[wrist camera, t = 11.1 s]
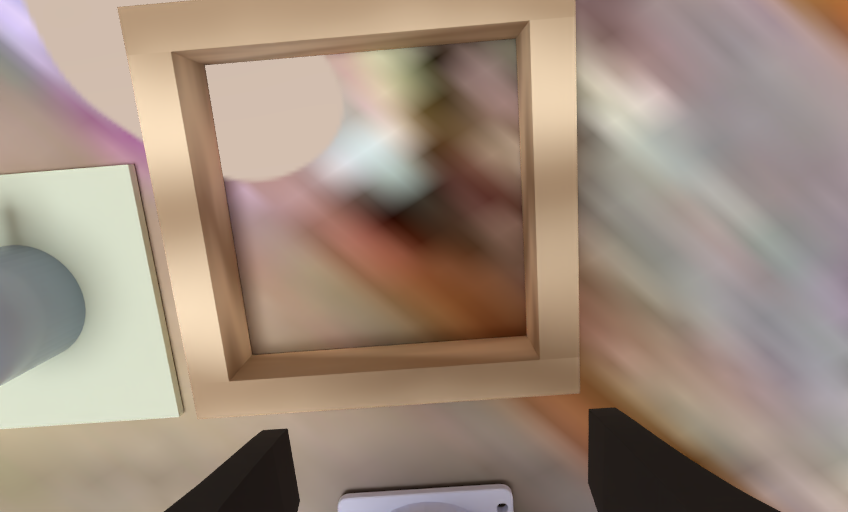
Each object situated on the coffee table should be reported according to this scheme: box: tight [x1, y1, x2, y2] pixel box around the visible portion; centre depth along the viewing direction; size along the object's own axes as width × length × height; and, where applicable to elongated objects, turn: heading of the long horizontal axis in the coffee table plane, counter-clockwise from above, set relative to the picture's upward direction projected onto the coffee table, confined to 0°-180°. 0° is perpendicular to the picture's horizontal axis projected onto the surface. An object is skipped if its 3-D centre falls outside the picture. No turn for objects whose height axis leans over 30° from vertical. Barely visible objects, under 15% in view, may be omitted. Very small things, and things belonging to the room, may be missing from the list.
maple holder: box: [117, 0, 580, 419], centre depth 18 cm, size 15×15×2 cm
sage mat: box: [0, 164, 184, 429], centre depth 20 cm, size 11×11×1 cm
